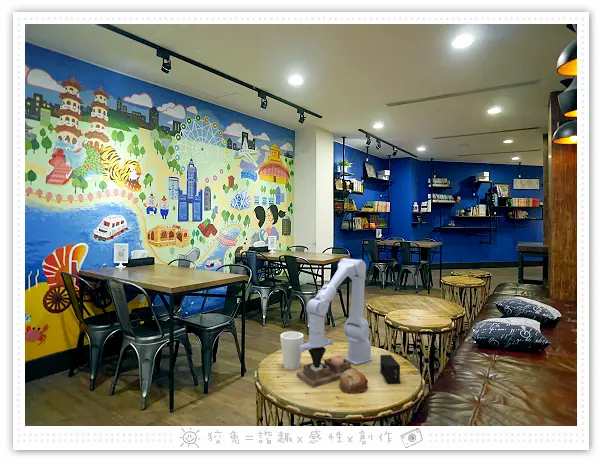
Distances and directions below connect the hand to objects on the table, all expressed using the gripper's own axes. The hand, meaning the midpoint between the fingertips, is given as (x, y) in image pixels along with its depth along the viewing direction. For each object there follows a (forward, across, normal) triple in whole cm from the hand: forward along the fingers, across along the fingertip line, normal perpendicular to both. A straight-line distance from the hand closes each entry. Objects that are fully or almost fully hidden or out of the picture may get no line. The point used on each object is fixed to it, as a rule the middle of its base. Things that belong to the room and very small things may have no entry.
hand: (316, 366), depth 134 cm
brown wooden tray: (+4, -5, 0) cm, 7 cm away
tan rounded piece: (+2, -10, 0) cm, 10 cm away
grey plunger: (+3, 0, 0) cm, 3 cm away
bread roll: (+5, -7, +13) cm, 15 cm away
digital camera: (+5, -24, +14) cm, 28 cm away
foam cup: (+5, +2, -14) cm, 15 cm away
